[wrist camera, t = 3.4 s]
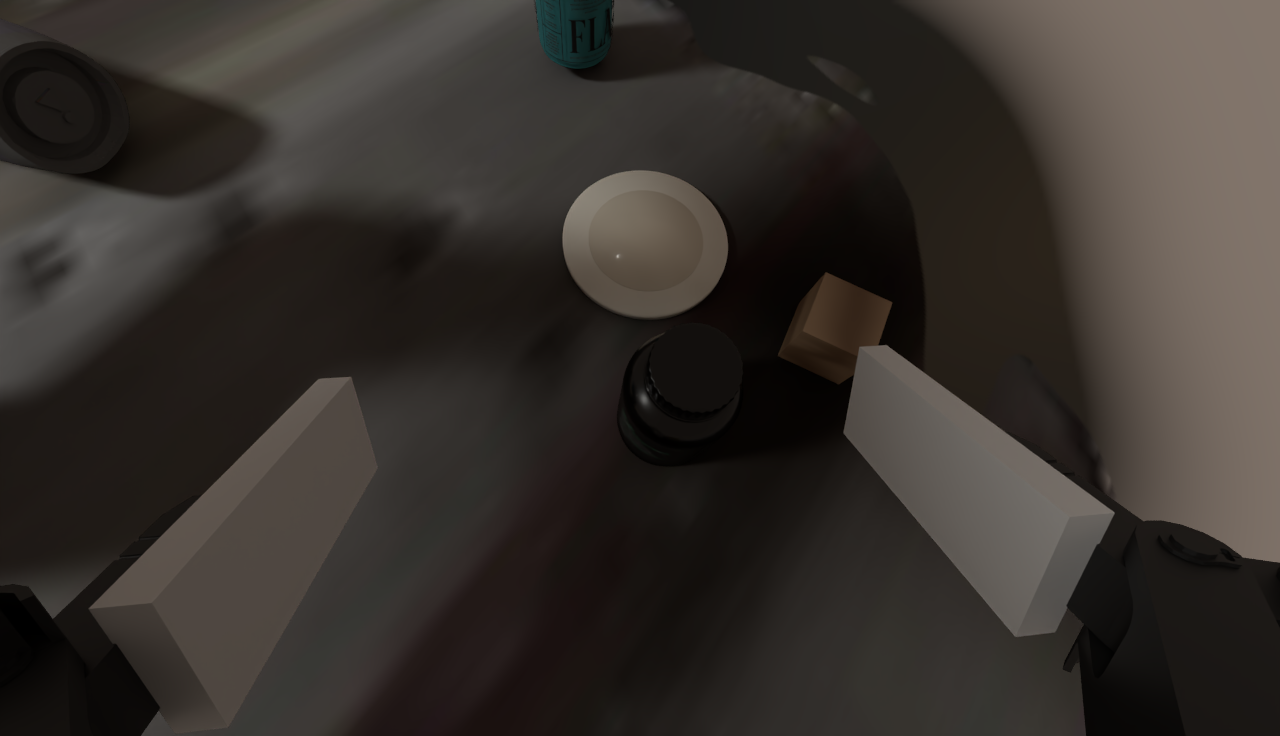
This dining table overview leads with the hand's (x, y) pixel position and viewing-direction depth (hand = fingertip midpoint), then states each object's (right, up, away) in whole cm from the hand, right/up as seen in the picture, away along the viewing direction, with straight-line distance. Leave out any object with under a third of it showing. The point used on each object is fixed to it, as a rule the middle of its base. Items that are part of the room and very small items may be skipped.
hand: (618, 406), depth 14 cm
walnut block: (+14, +3, +26) cm, 30 cm away
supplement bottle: (+2, -3, +23) cm, 24 cm away
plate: (+1, +11, +27) cm, 29 cm away
